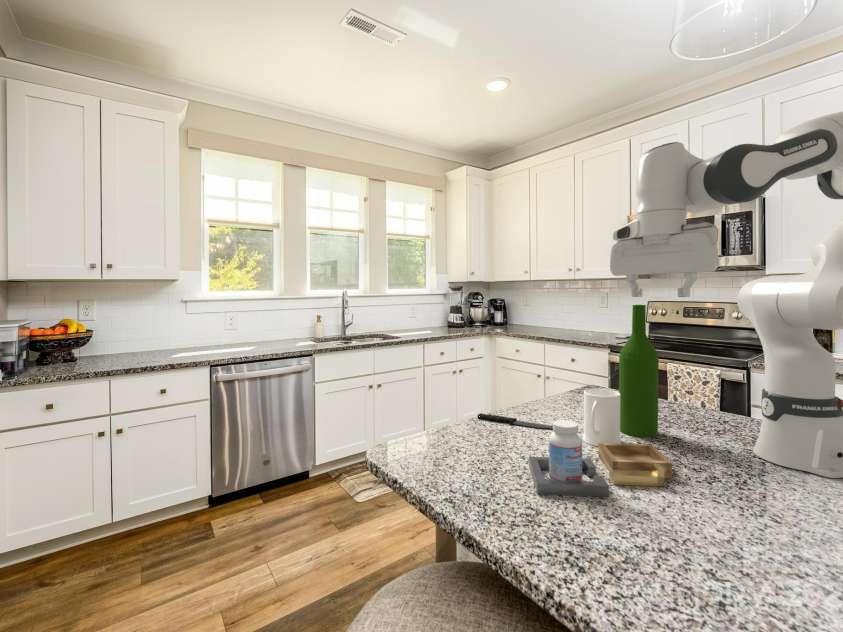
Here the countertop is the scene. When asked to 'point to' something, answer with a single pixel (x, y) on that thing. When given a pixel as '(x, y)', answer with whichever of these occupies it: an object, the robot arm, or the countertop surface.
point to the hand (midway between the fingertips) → (659, 296)
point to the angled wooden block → (638, 477)
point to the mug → (601, 416)
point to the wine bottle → (638, 380)
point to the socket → (567, 487)
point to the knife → (510, 421)
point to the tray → (633, 457)
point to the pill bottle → (565, 452)
